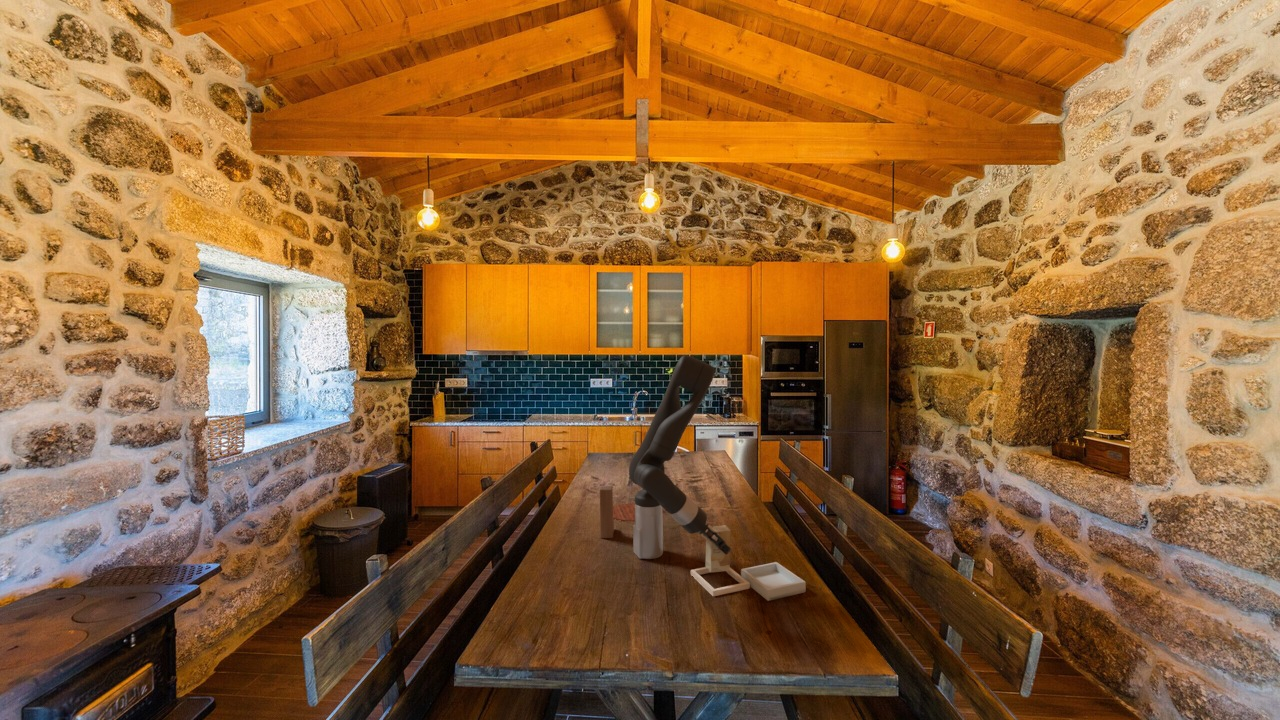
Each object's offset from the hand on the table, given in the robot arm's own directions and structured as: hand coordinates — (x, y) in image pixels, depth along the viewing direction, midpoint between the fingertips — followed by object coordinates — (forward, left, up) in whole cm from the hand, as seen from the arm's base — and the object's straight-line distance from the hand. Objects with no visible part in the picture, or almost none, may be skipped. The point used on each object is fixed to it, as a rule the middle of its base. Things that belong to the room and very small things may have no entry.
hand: (723, 548), depth 149 cm
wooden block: (-22, +48, -10) cm, 53 cm away
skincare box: (-2, 0, -6) cm, 6 cm away
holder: (-2, 0, -10) cm, 10 cm away
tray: (+11, -8, -10) cm, 17 cm away
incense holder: (-1, +65, -10) cm, 66 cm away
